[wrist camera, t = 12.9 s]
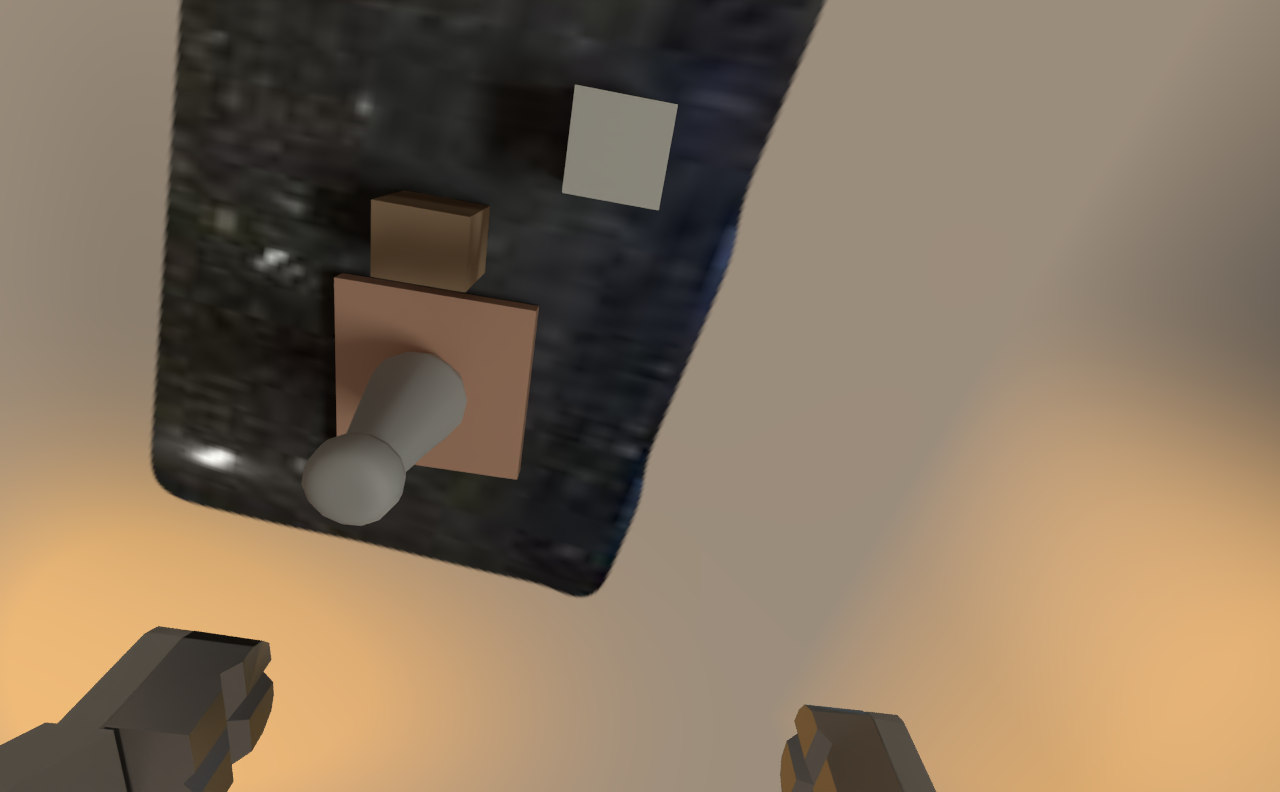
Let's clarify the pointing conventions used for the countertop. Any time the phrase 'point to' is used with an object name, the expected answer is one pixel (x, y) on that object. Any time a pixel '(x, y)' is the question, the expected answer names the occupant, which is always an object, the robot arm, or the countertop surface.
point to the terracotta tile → (464, 338)
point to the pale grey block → (618, 147)
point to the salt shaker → (385, 438)
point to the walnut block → (428, 240)
